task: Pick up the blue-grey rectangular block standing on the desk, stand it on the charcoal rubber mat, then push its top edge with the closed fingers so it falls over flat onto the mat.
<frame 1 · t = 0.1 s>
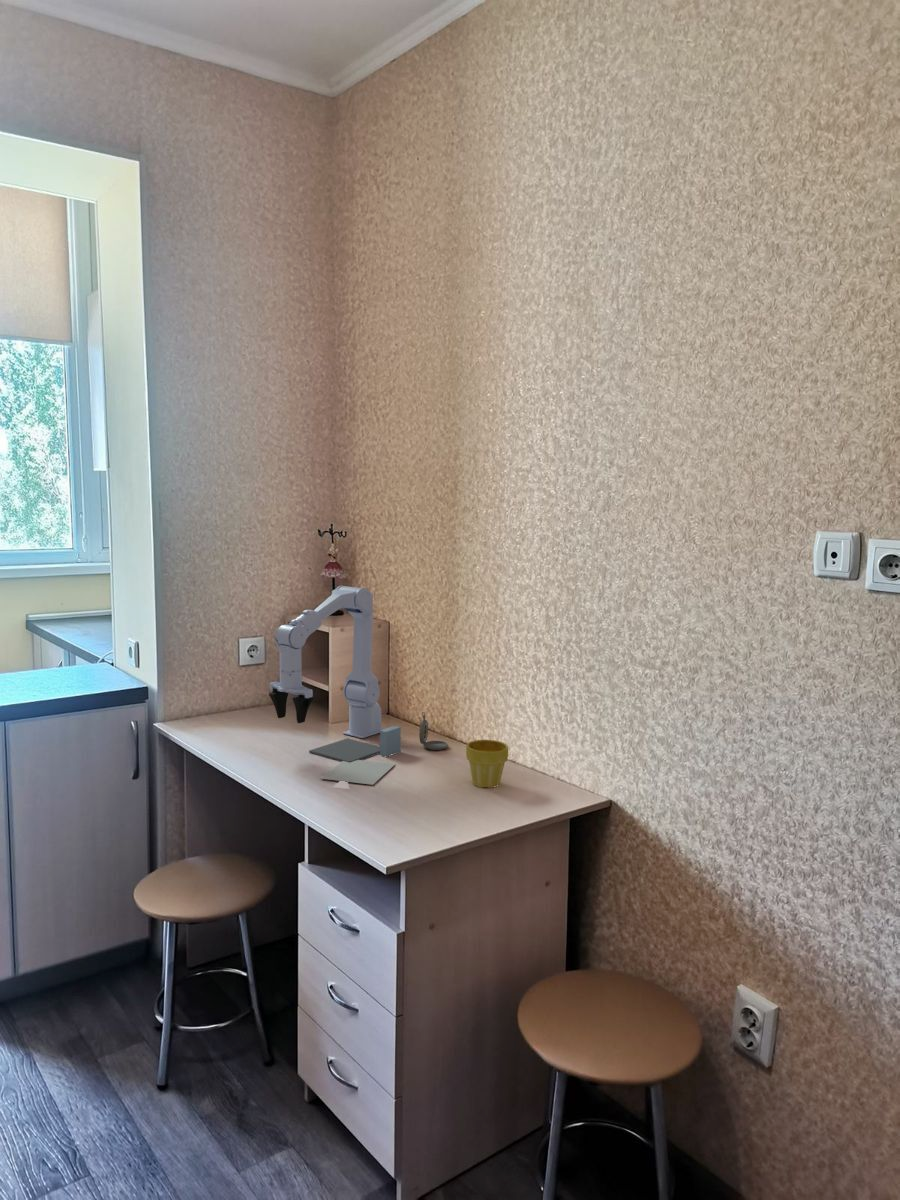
hand: (291, 719, 231), 10 cm above the table, tool pointing down, fingers open, 7 cm apart
plant pot: (486, 784, 213), on the table
pocket watch: (431, 747, 243), on the table
mat: (348, 751, 237), on the table
blue-grey rectangular block: (390, 753, 236), on the table
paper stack: (370, 781, 215), on the table
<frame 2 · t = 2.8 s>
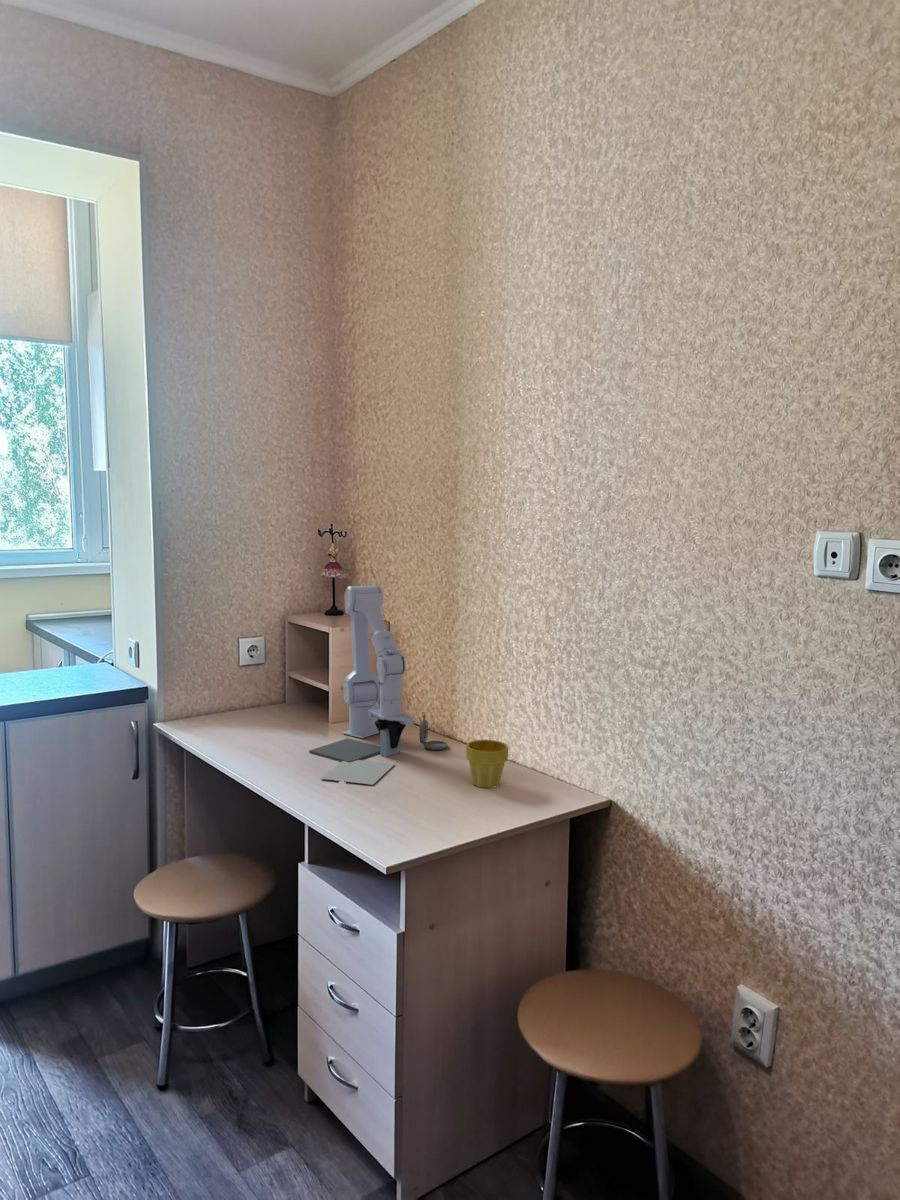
hand: (390, 746, 236), 2 cm above the table, tool pointing down, fingers closed on blue-grey rectangular block, 2 cm apart
blue-grey rectangular block: (390, 753, 236), on the table, touching gripper
everything else where it was.
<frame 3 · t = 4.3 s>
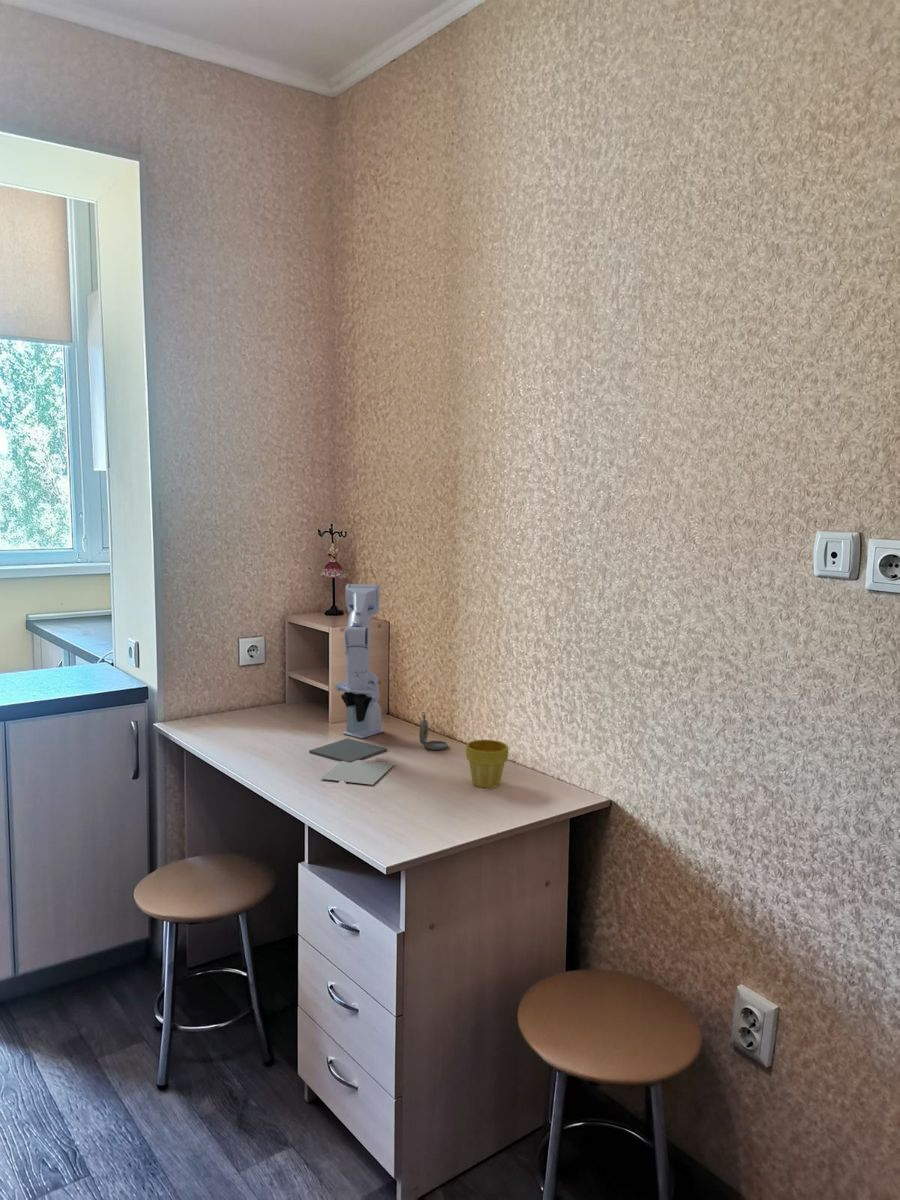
hand: (356, 720, 234), 9 cm above the table, tool pointing down, fingers closed on blue-grey rectangular block, 2 cm apart
blue-grey rectangular block: (357, 730, 235), point 6 cm above the table, touching gripper
everything else where it was.
when the fingers open (3 cm above the table, at t = 5.8 s): blue-grey rectangular block stays where it is, resting on mat.
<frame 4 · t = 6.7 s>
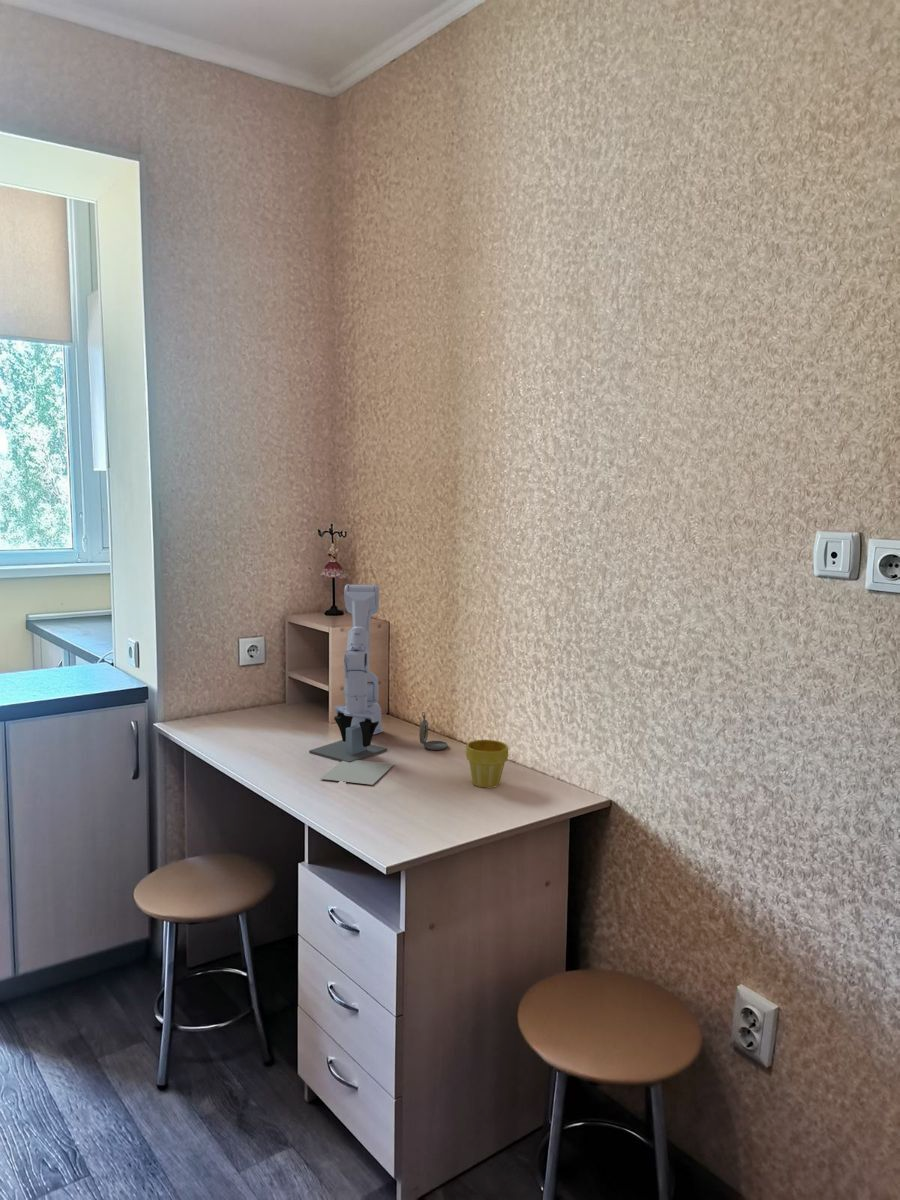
hand: (356, 743, 235), 3 cm above the table, tool pointing down, fingers open, 7 cm apart
blue-grey rectangular block: (356, 751, 235), point 1 cm above the table, touching mat
everything else where it was.
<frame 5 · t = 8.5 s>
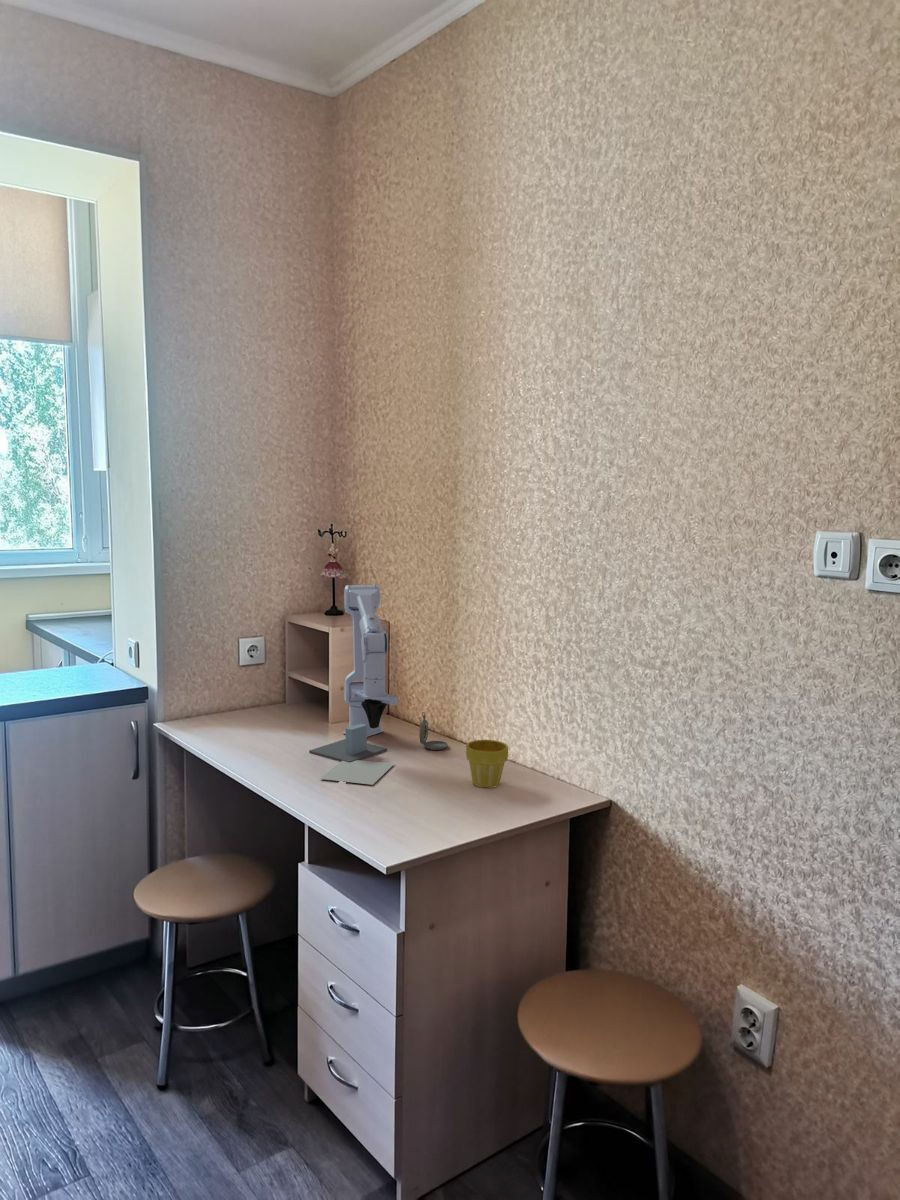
hand: (374, 727, 230), 9 cm above the table, tool pointing down, fingers closed
nothing on the table moved.
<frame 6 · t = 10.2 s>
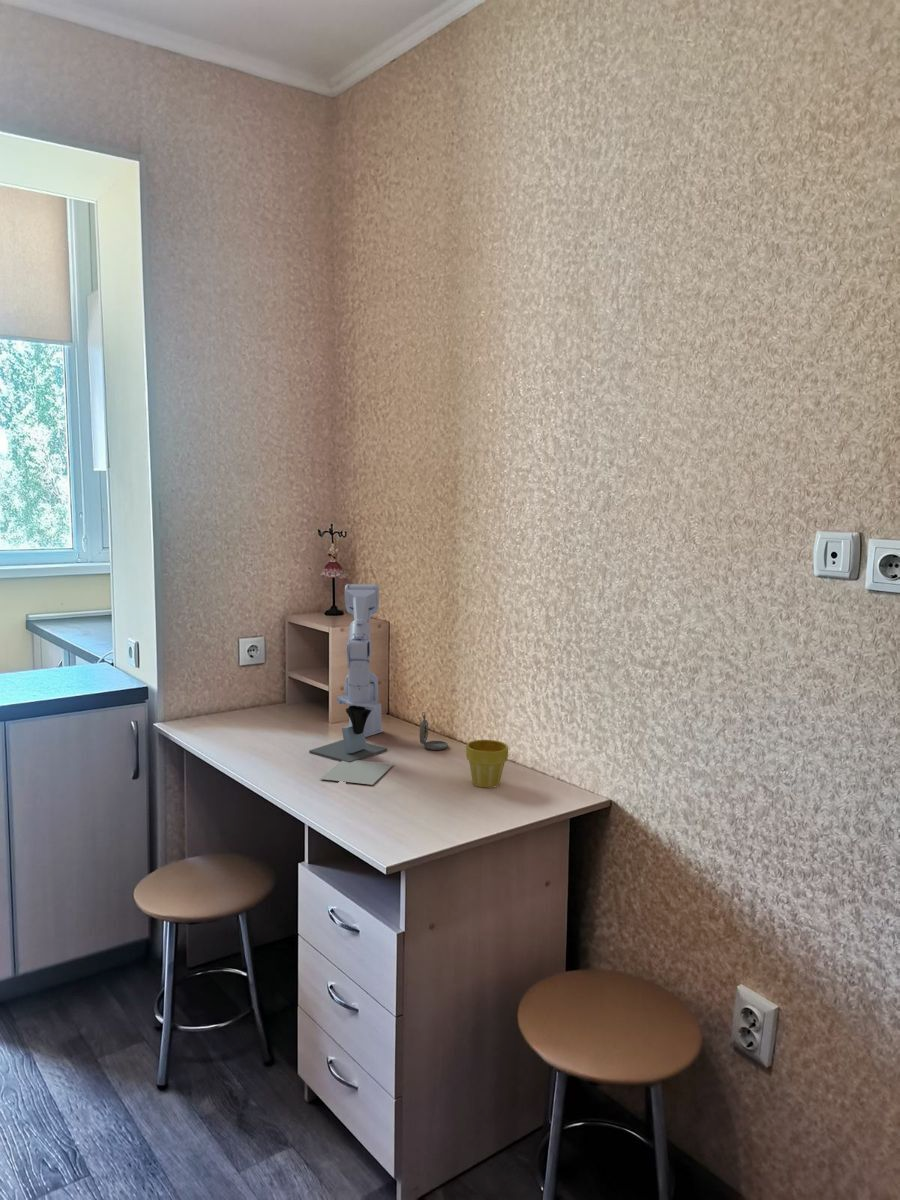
hand: (358, 733, 234), 6 cm above the table, tool pointing down, fingers closed
blue-grey rectangular block: (356, 750, 235), point 1 cm above the table, tilted 13°, touching mat
everything else where it was.
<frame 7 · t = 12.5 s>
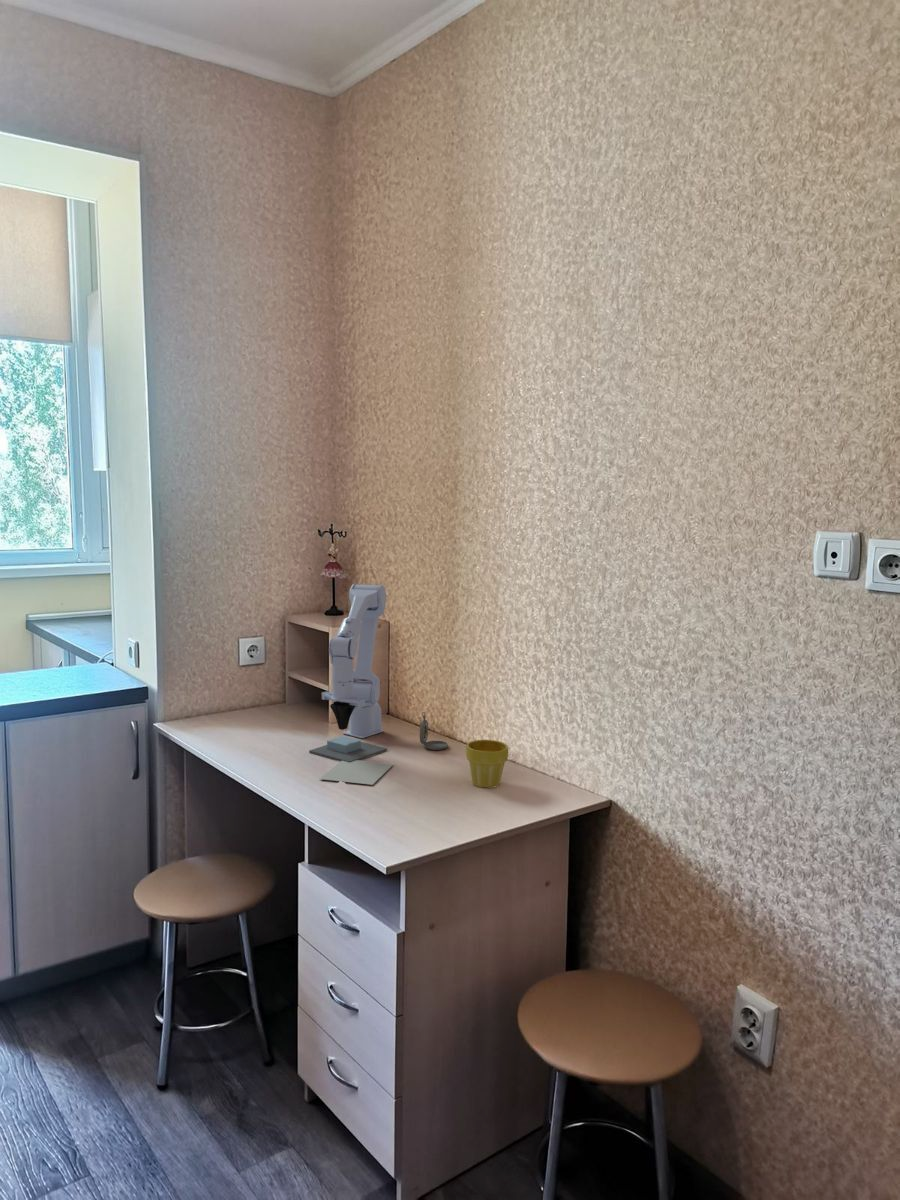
hand: (343, 728, 238), 6 cm above the table, tool pointing down, fingers closed
blue-grey rectangular block: (353, 746, 236), point 2 cm above the table, tilted 90°, touching mat
everything else where it was.
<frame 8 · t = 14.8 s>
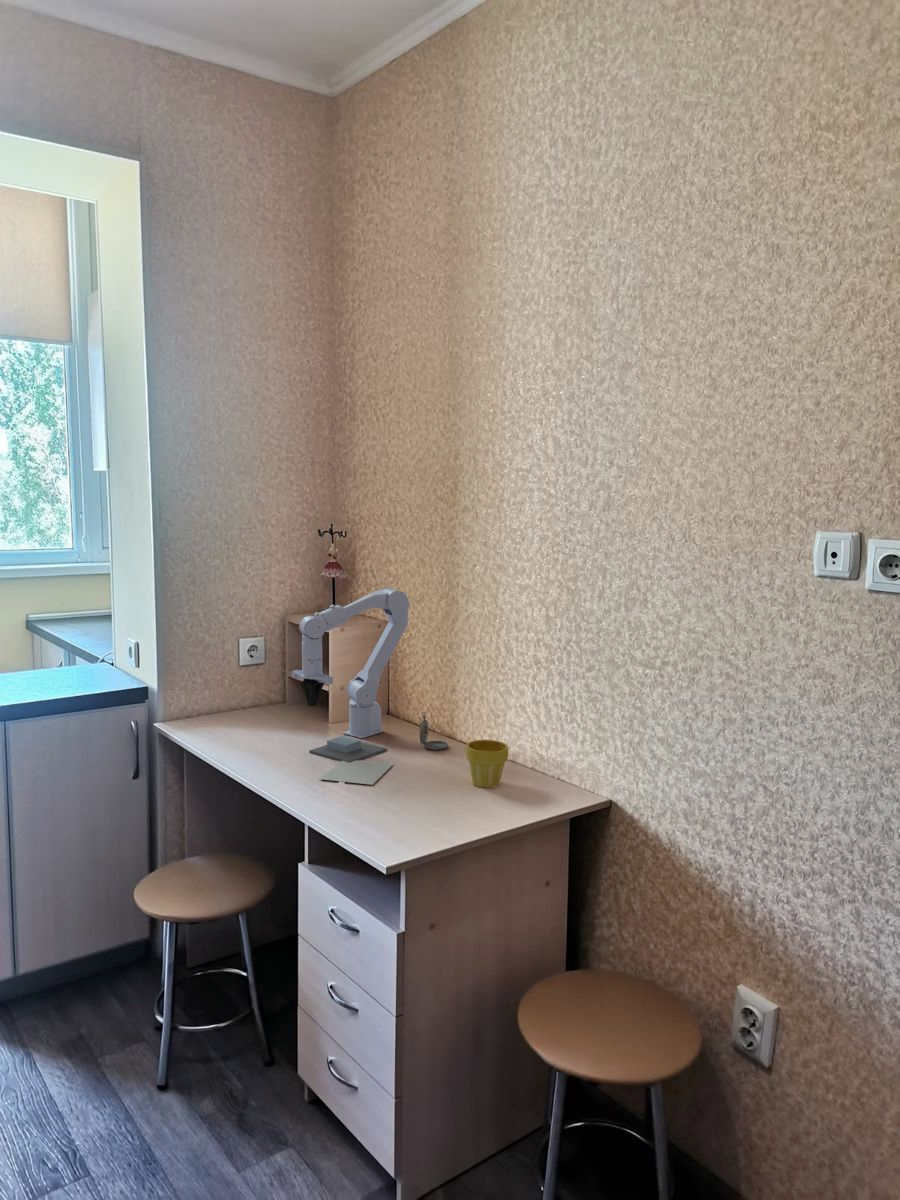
hand: (312, 705, 247), 10 cm above the table, tool pointing down, fingers closed
nothing on the table moved.
at the end: blue-grey rectangular block tilted 90°; blue-grey rectangular block inside the target area on the mat (1.9 cm from its centre), point 1.7 cm above the mat's base; the gripper is holding nothing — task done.
